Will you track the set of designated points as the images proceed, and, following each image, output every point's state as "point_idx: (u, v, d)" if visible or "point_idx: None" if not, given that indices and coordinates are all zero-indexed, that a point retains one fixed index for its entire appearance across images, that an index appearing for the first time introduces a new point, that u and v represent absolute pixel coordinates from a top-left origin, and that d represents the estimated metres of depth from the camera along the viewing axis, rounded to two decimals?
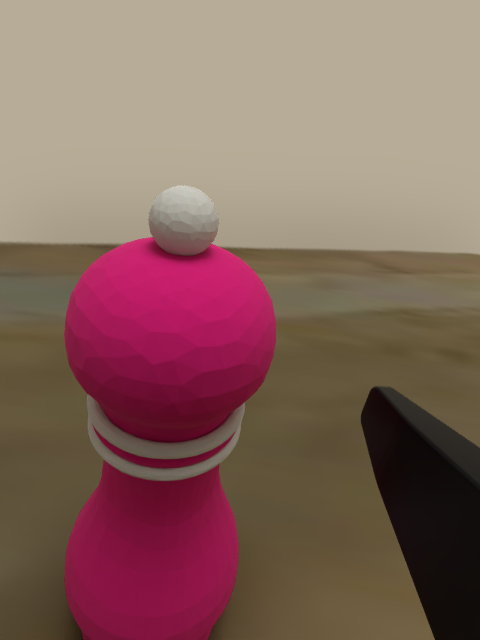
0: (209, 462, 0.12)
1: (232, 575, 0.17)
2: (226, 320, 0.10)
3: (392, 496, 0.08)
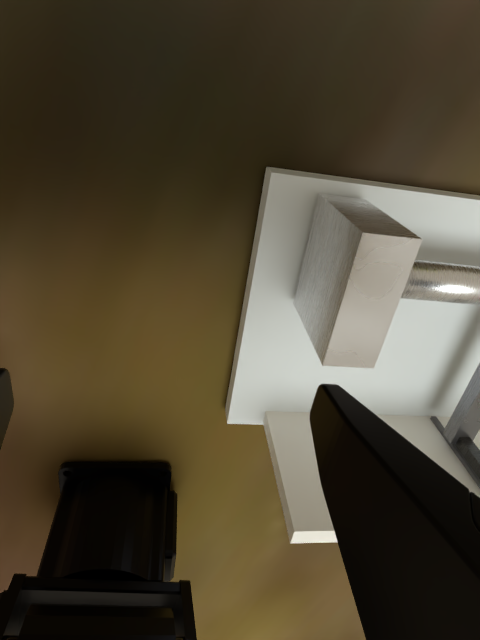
0: None
1: None
2: None
3: (332, 496, 0.08)
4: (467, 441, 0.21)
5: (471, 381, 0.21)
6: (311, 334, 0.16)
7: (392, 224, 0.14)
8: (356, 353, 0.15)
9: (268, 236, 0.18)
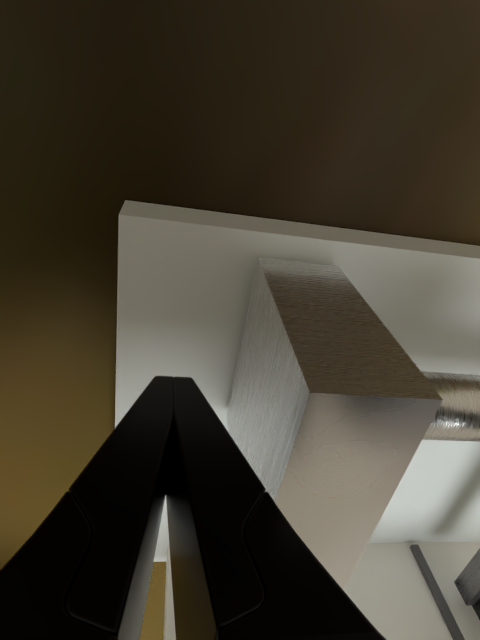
0: None
1: None
2: None
3: (167, 496, 0.08)
4: None
5: None
6: None
7: (379, 344, 0.07)
8: None
9: (131, 317, 0.10)
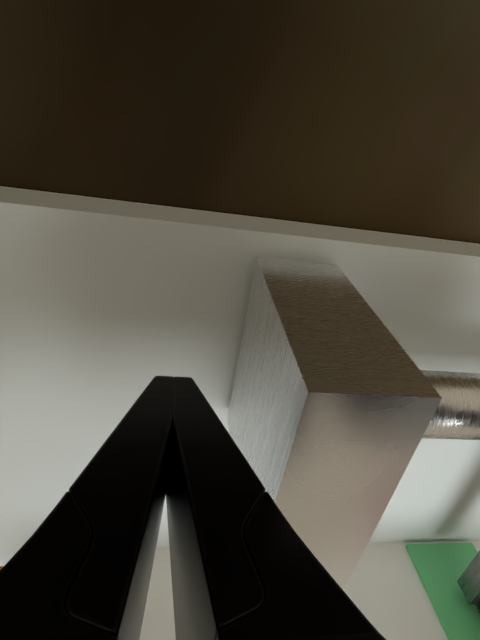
0: None
1: None
2: None
3: (167, 496, 0.08)
4: None
5: None
6: None
7: (378, 343, 0.07)
8: None
9: None
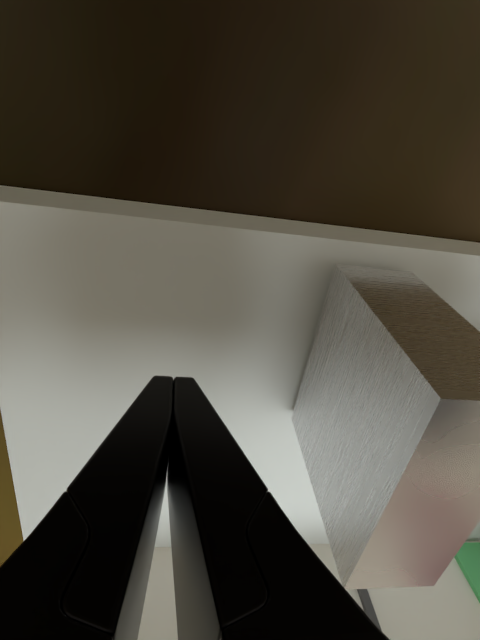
0: None
1: None
2: None
3: (169, 496, 0.08)
4: None
5: None
6: (322, 505, 0.10)
7: None
8: (405, 570, 0.08)
9: None
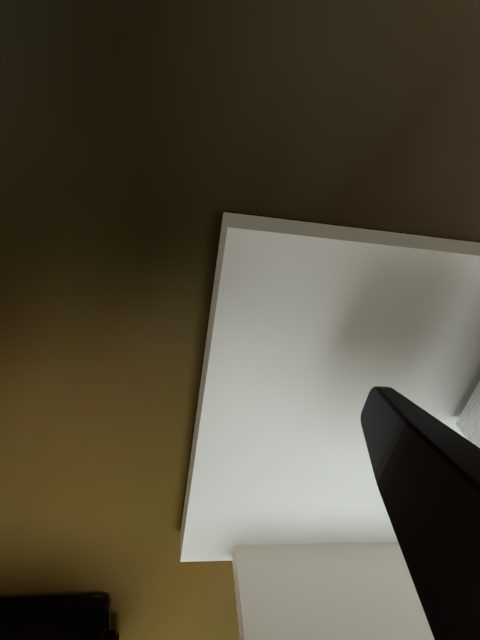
0: None
1: None
2: None
3: (392, 496, 0.08)
4: None
5: None
6: None
7: None
8: None
9: (227, 324, 0.11)
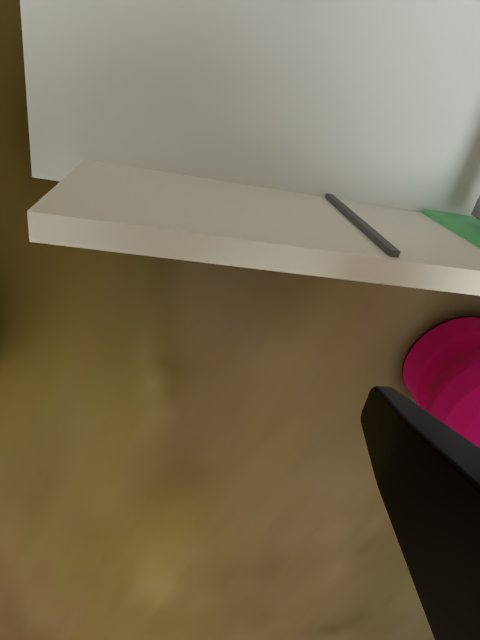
0: None
1: None
2: None
3: (392, 496, 0.08)
4: None
5: None
6: None
7: None
8: None
9: None
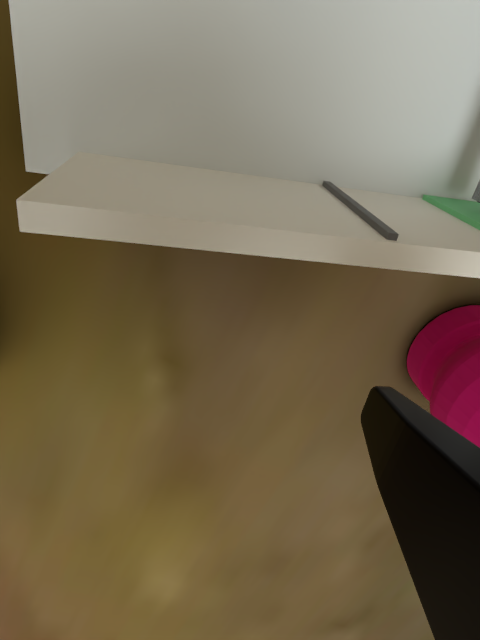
0: None
1: None
2: None
3: (392, 496, 0.08)
4: None
5: None
6: None
7: None
8: None
9: None
